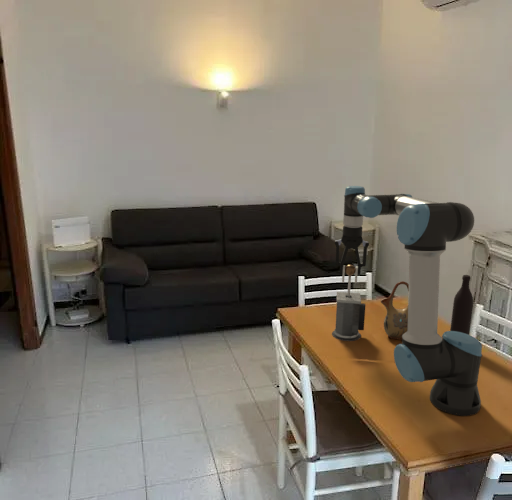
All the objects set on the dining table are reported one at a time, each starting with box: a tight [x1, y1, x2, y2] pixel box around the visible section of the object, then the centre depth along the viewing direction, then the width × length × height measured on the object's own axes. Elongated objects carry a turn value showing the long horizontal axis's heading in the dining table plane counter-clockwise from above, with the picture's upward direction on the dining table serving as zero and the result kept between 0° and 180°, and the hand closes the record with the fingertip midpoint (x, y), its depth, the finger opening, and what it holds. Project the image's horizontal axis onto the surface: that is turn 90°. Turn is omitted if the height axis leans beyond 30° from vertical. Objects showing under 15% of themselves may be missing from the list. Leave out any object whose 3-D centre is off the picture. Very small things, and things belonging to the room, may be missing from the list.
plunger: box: [345, 264, 356, 298], centre depth 201 cm, size 7×7×24 cm
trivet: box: [331, 330, 362, 342], centre depth 206 cm, size 12×12×1 cm
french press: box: [333, 291, 366, 340], centre depth 203 cm, size 10×12×17 cm
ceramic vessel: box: [380, 281, 409, 341], centre depth 201 cm, size 16×9×25 cm, turn 90°
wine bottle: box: [449, 274, 474, 335], centre depth 193 cm, size 7×7×30 cm
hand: (349, 281), depth 200 cm, fingers closed on plunger, 4 cm apart
